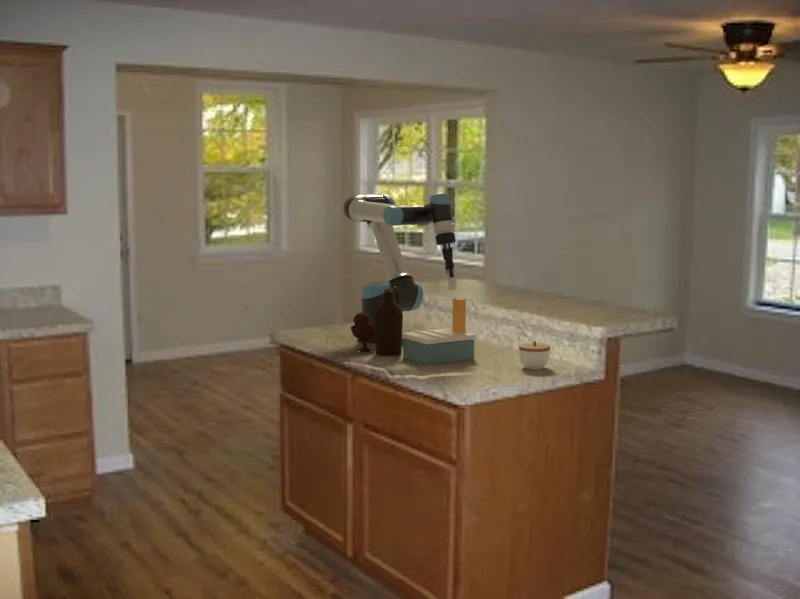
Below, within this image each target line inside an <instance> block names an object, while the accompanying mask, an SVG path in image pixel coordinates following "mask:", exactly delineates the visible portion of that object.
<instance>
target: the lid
mask: <svg viewBox="0 0 800 599" xmlns="http://www.w3.org/2000/svg"><path fill="white" fill-rule="evenodd" d="M466 300H467V299H466V298H461V297H455V298H452V328H451V327H449V328H448V327H447V328H439V329H438V328H437V329H429V328H425V330H418V329H417V330H416V329H413V331H410V332H402V339H403V338H406V339H409V340H413V341H416V342H420V343H423V344H426V345H427V344H436V343H445V342H454V341H463V340H472V339H473V340H476V334H474V333H470V332H466V331H467V330H466V323H467V322H466V321H467V320H466V318H467V312H466V311H467V308H466V307H467V303H466Z"/></svg>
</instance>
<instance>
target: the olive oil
mask: <svg viewBox="0 0 800 599" xmlns="http://www.w3.org/2000/svg"><path fill="white" fill-rule="evenodd" d="M392 291H393V289H384V300H383V301H382V302H381V303H380V304H379V306H378V307H377V308H376V310H375V313H374V325H375V342H374V345H375V355H377V356H379V357H380V356H381V357H395V356H396V357H397V356H400V355H402V350H403V348H402V346H403V338H402V333H403V321H404V315H403V314H404V312H402V310H401V308H400V307H399V306H398V304H397V303H396V302H395V301H394V300H393V293H392Z"/></svg>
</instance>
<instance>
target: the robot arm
mask: <svg viewBox="0 0 800 599" xmlns="http://www.w3.org/2000/svg"><path fill="white" fill-rule="evenodd" d="M342 206H343V207H342V211H343V214H344V216H345V218H347V219H348V220H349V221H351V222H355V223H357V222H358V223H366V225H367V228H368V229H369V230H371V231H373V236H374V240H375V241H376V245H377V248H378V250H379V255H380V257H381V258H380V259H381V260H382V264H383V267H384V270H385V273H386V277H387V281H386V280H380V281H372V282H368V283H365V284H364V285H363V286H362V287H361V294H360V298H361V313H366V314H367V315H368V316H369V317H371V318H372V319H373V320H374V313H375V310H376V308H377V307H378V306H379V304H380V303H381V302H382V301H383V300H384V289H393V291H392V293H393V300H394V301H395V302H396V303H397V304H398V306H399V307H400V308H401V310H402V313H404V312H411V311H416V310H418V309H419V308H420V307H421V305H422V303H423V300H424V290H423V286H422V284H421V283H420V282H417V281H415V280H414V277H413V275H412V274H409V273H408V271H407V267H406V264H405V261H404V257H403V254H402V251H401V249H400V246H399V242H398V239H397V235H396V232H395V230H394V227H396V226H408V225H409V226H413V225H414V226H415V225H416V226H418V227H426V226H429V225H430V224H433V230H434V234H435V235H434V236H435V237H434V238H435V242H436V243H435V244H436V245H437V246H442V247H443V248H441V254H442V256H443V260H444V264H445V266H444V270H445V272H446V278H447V285H448V291H454V290H456V289H457V280H456V278H457V277H456V270H455V266H454V265H455V264H454V260H453V256H454V255H453V253H454V252H453V250H454V249H453V247H451V246H452V245H453V244H455V243H456V240H457V239H456V233H455V228H454V227H455V226H456V223H453V213H452V212H453V211H452V207H451V200H450V195H449V193H447V192H438V193H434V194H431V195H430V196H429V203H428V204H423V205H421V204H419V205H398V204H396V202H395V200H394V199H393V198H392V196H390V195H389V194H384V193H383V194H382V193H376V194H375V193H374V194H365V193H364V194H359V193H358V194H354V195H352V196H351V195H350V197H348V198H347V199H346V200H345V201H344V203H343V205H342ZM367 343H375V337H374V338H372V339H371V340H368V342H367Z"/></svg>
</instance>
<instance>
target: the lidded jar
mask: <svg viewBox="0 0 800 599" xmlns="http://www.w3.org/2000/svg"><path fill="white" fill-rule="evenodd" d="M518 350H519V351H518V353H519V359H520V363H521V364H522V365H523V367H525V369H527V370H536V371H537V370H542V369H544V367H546V366H547V365H548V363H549V360H550V356H551V355H550V354H551V345H550V344H546V343H537V340H533V341H532V342H527V343H521V344H519V345H518Z"/></svg>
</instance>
